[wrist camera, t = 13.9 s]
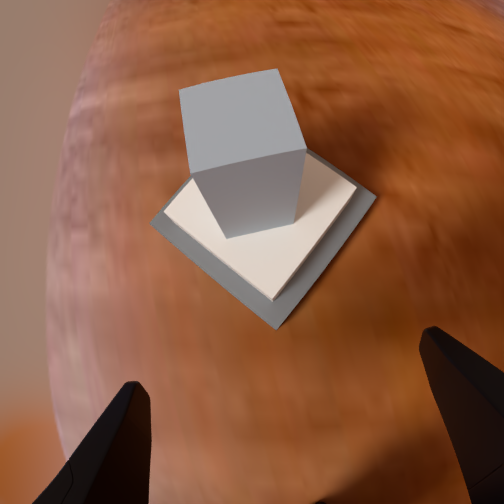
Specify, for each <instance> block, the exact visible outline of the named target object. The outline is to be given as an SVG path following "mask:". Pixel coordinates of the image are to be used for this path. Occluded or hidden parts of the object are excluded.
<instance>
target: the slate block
mask: <svg viewBox="0 0 504 504" xmlns="http://www.w3.org/2000/svg"><path fill="white" fill-rule="evenodd" d="M179 95H180V103H181V111H182V118H183V126H184V133H185V140H186V147H187V154H188V161H189V168H190V174H191V176H192V177H193V179H194V181H195V183H196V185H197V187H198V188H199V190H200V192H201V194H202V196H203V198H204V199H205V201H206V203H207V205H208V207H209V208H210V210H211V212H212V214H213V216H214V218H215V219H216V221H217V223H218V225H219V227H220V228H221V230H222V232H223V234H224V236H225V237H226V239H229V238H233V237H237V236H242V235H246V234H250V233H255V232H259V231H264V230H268V229H273V228H277V227H282V226H286V225H291V224H293V223H294V218H295V213H296V207H297V202H298V196H299V191H300V185H301V179H302V174H303V168H304V162H305V156H306V150H307V147H306V144H305V141H304V138H303V136H302V133H301V130H300V127H299V124H298V122H297V119H296V116H295V113H294V111H293V108H292V105H291V103H290V100H289V97H288V95H287V92H286V90H285V87H284V84H283V82H282V79H281V77H280V74H279V72H278V69H272V70H266V71H260V72H254V73H249V74H244V75H239V76H234V77H229V78H224V79H220V80H216V81H211V82H207V83H203V84H199V85H195V86H191V87H187V88H184V89H180V90H179Z"/></svg>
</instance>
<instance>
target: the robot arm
mask: <svg viewBox="0 0 504 504" xmlns="http://www.w3.org/2000/svg"><path fill="white" fill-rule="evenodd" d="M419 352H420V355H421V358H422V361H423V364H424V368H425V371H426V374H427V377H428V381H429V384H430V387H431V390H432V393H433V396H434V398H435V401H436V403H437V406H438V408H439V410H440V413H441V415H442V418H443V421H444V423H445V426H446V428H447V431H448V434H449V436H450V439H451V442H452V444H453V447H454V450H455V453H456V456H457V458H458V461H459V464H460V467H461V470H462V473H463V476H464V479H465V483H466V486H467V489H468V493H469V496H470V500H471V503H472V504H504V372H502V371H501V370H499V369H498V368H497V367H495V366H494V365H492V364H491V363H490V362H488V361H487V360H485V359H484V358H482V357H481V356H479V355H478V354H477V353H475V352H474V351H472V350H471V349H469V348H468V347H466V346H465V345H464V344H462V343H461V342H459V341H458V340H456V339H455V338H453V337H452V336H450V335H449V334H447V333H446V332H444V331H443V330H441V329H440V328H438V327H437V326H432V327H429V328H426V329H424V331H423V333H422V337H421V341H420V344H419ZM151 442H152V440H151V409H150V397H149V395H148V393H147V392H146V390H145V389H144V388H143V386H142V385H141V384H140V382H138V381H128V382H126V383H125V384H124V385H123V386H122V388H121V389H120V390H119V392H118V393H117V394H116V396H115V397H114V398H113V400H112V401H111V402H110V404H109V405H108V406H107V408H106V409H105V411H104V412H103V413H102V415H101V416H100V417H99V419H98V420H97V421H96V423H95V424H94V425H93V427H92V428H91V429H90V431H89V432H88V433H87V435H86V436H85V438H84V439H83V440H82V442H81V443H80V444H79V446H78V447H77V448H76V450H75V451H74V453H73V454H72V455H71V457H70V458H69V460H68V461H67V462H66V463H65V465H64V466H63V468H62V469H61V470H60V472H59V473H58V474H57V476H56V477H55V478H54V479H53V481H52V482H51V483H50V484H49V485H48V487H47V488H46V489H45V490H44V491H43V492H42V493H41V494H40V495H39V496H38V497H37V499H36V500H35V501H34V502H33V503H32V504H148V503H149V477H150V459H151ZM316 504H326V503H324V502H318V503H316Z"/></svg>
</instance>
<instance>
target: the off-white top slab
mask: <svg viewBox="0 0 504 504" xmlns="http://www.w3.org/2000/svg"><path fill="white" fill-rule="evenodd" d="M356 188H357V187H356V186H354V185H353V184H352V183H350V182H349V181H347V180H346V179H345V178H343V177H342V176H340V175H339V174H337V173H336V172H334V171H333V170H332V169H330V168H329V167H327V166H326V165H324V164H323V163H321V162H320V161H318V160H317V159H315V158H314V157H312V156H311V155H309V154H307V153H306V156H305V162H304V168H303V174H302V179H301V185H300V191H299V196H298V202H297V207H296V213H295V218H294V223H293V224H291V225H286V226H282V227H277V228H273V229H268V230H264V231H259V232H255V233H250V234H246V235H242V236H237V237H233V238H229V239H226V237H225V236H224V234H223V232H222V230H221V228H220V227H219V225H218V223H217V221H216V219H215V218H214V216H213V214H212V212H211V210H210V208H209V207H208V205H207V203H206V201H205V199H204V198H203V196H202V194H201V192H200V190H199V188H198V187H197V185H196V183H195V181H194V179H193V178H192V179H191V180H190V182H189V183H188V184H187V185H186V186H185V187H184V188H183V189H182V191H181V192H180V193H179V194H178V195H177V196H176V198H175V199H174V200H173V201H172V202H171V203H170V204H169V206H168V207H167V208H166V209H165V210H164V213H165V214H166V215H167V216H168V217H169V218H170V219H171V220H172V221H173V222H174V223H175V224H176V225H178V226H179V227H180V228H181V229H182V230H184V231H185V232H186V233H187V234H189V235H190V236H191V237H192V238H193V239H195V240H196V241H197V242H198V243H200V244H201V245H202V246H203V247H205V248H206V249H207V250H208V251H209V252H211V253H212V254H213V255H214V256H216V257H217V258H218V259H219V260H221V261H222V262H223V263H224V264H226V265H227V266H228V267H229V268H231V269H232V270H233V271H234V272H236V273H237V274H238V275H239V276H241V277H242V278H243V279H244V280H246V281H247V282H248V283H250V284H251V285H252V286H253V287H255V288H256V289H257V290H258V291H260V292H261V293H262V294H263V295H265V296H266V297H267V298H269V299H270V300H271V301H272V302H273V301H274V300H275V299H276V297H277V296H278V295H279V293H280V292H281V291H282V290H283V288H284V287H285V286H286V285H287V283H288V282H289V281H290V279H291V278H292V277H293V276H294V274H295V273H296V272H297V270H298V269H299V268H300V267H301V265H302V264H303V263H304V261H305V260H306V259H307V257H308V256H309V255H310V254H311V252H312V251H313V250H314V248H315V247H316V246H317V244H318V243H319V242H320V240H321V239H322V238H323V236H324V235H325V234H326V232H327V231H328V230H329V228H330V227H331V226H332V224H333V223H334V222H335V220H336V219H337V218H338V216H339V215H340V213H341V212H342V211H343V209H344V208H345V207H346V205H347V204H348V203H349V201H350V199H351V197H352V196H353V194H354V192H355V190H356Z"/></svg>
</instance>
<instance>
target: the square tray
mask: <svg viewBox="0 0 504 504" xmlns="http://www.w3.org/2000/svg"><path fill="white" fill-rule="evenodd" d="M306 153H307V154H309V155H311V156H312V157H314V158H315V159H317V160H318V161H320V162H321V163H323V164H324V165H326V166H327V167H329V168H330V169H332V170H333V171H334V172H336V173H337V174H339V175H340V176H342V177H343V178H345V179H346V180H347V181H349V182H350V183H352V184H353V185H354V186H356V187H357V188H356V190H355V192H354V194H353V196H352V197H351V199H350V201H349V203H348V204H347V205H346V207H345V208H344V209H343V211H342V212H341V213H340V215H339V216H338V218H337V219H336V220H335V222H334V223H333V224H332V226H331V227H330V228H329V230H328V231H327V232H326V234H325V235H324V236H323V238H322V239H321V240H320V242H319V243H318V244H317V246H316V247H315V248H314V250H313V251H312V252H311V254H310V255H309V256H308V257H307V259H306V260H305V261H304V263H303V264H302V265H301V267H300V268H299V269H298V270H297V272H296V273H295V274H294V276H293V277H292V278H291V279H290V281H289V282H288V283H287V285H286V286H285V287H284V288H283V290H282V291H281V292H280V293H279V295H278V296H277V297H276V299H275V300H274V301H273V302H272V301H271V300H270V299H269V298H267V297H266V296H265V295H263V294H262V293H261V292H260V291H258V290H257V289H256V288H255V287H253V286H252V285H251V284H250V283H248V282H247V281H246V280H244V279H243V278H242V277H241V276H239V275H238V274H237V273H236V272H234V271H233V270H232V269H231V268H229V267H228V266H227V265H226V264H224V263H223V262H222V261H221V260H219V259H218V258H217V257H216V256H214V255H213V254H212V253H211V252H209V251H208V250H207V249H206V248H205V247H203V246H202V245H201V244H200V243H198V242H197V241H196V240H195V239H193V238H192V237H191V236H190V235H189V234H187V233H186V232H185V231H184V230H182V229H181V228H180V227H179V226H178V225H176V224H175V223H174V222H173V221H172V220H171V219H170V218H169V217H168V216H167V215H166V214H165V213H164V210H165V209H166V208H167V207H168V206H169V204H170V203H171V202H172V201H173V200H174V199H175V198H176V196H177V195H178V194H179V193H180V192H181V191H182V189H183V188H184V187H185V186H186V185H187V184H188V183H189V182H190V180H191V179H192V178H193V177H192V176H190V177H189V178H188V180H187V181H186V182H185V183H184V184H183V185H182V186H181V187H180V188H179V190H178V191H177V192H176V193H175V194H174V195H173V196H172V197H171V199H170V200H169V201H168V202H167V203H166V204H165V206H164V207H163V208H162V209H161V210H160V211H159V213H158V214H157V215H156V216H155V217H154V218H153V220H152V221H151V222H150V223H149V224H150V225H151V226H153V227H154V228H155V229H156V230H157V231H158V232H159V233H161V234H162V235H163V236H164V237H165V238H166V239H167V240H169V241H170V242H171V243H172V244H173V245H174V246H175V247H177V248H178V249H179V250H180V251H181V252H182V253H184V254H185V255H186V256H187V257H188V258H189V259H191V260H192V261H193V262H194V263H195V264H196V265H198V266H199V267H200V268H201V269H202V270H203V271H205V272H206V273H207V274H208V275H209V276H211V277H212V278H213V279H214V280H215V281H217V282H218V283H219V284H220V285H221V286H223V287H224V288H225V289H226V290H227V291H229V292H230V293H231V294H232V295H233V296H235V297H236V298H237V299H238V300H239V301H241V302H242V303H243V304H244V305H246V306H247V307H248V308H249V309H250V310H252V311H253V312H254V313H255V314H257V315H258V316H259V317H260V318H262V319H263V320H264V321H265V322H267V323H268V324H269V325H270V326H272V327H273V328H274V329H275V330H277V329H278V328H279V326H280V325H281V324H282V323H283V321H284V320H285V319H286V318H287V316H288V315H289V314H290V313H291V311H292V310H293V309H294V308H295V306H296V305H297V304H298V303H299V301H300V300H301V299H302V298H303V296H304V295H305V294H306V292H307V291H308V290H309V289H310V287H311V286H312V285H313V283H314V282H315V281H316V280H317V278H318V277H319V276H320V274H321V273H322V272H323V270H324V269H325V268H326V266H327V265H328V264H329V262H330V261H331V260H332V258H333V257H334V256H335V254H336V253H337V252H338V250H339V249H340V248H341V246H342V245H343V244H344V242H345V241H346V240H347V238H348V237H349V235H350V234H351V233H352V231H353V230H354V228H355V227H356V226H357V224H358V223H359V222H360V220H361V219H362V217H363V216H364V214H365V213H366V212H367V210H368V209H369V207H370V206H371V204H372V203H373V202H374V200H375V199H376V196H375V195H374V194H372V193H371V192H370V191H368V190H367V189H366V188H364V187H363V186H362V185H360V184H359V183H357V182H356V181H355V180H353V179H352V178H350V177H349V176H348V175H346V174H345V173H343V172H342V171H341V170H339V169H338V168H336V167H335V166H333V165H332V164H330V163H329V162H328V161H326V160H325V159H323V158H322V157H320V156H319V155H317V154H316V153H314V152H313V151H311V150H310V149H308V148H307V150H306Z"/></svg>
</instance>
